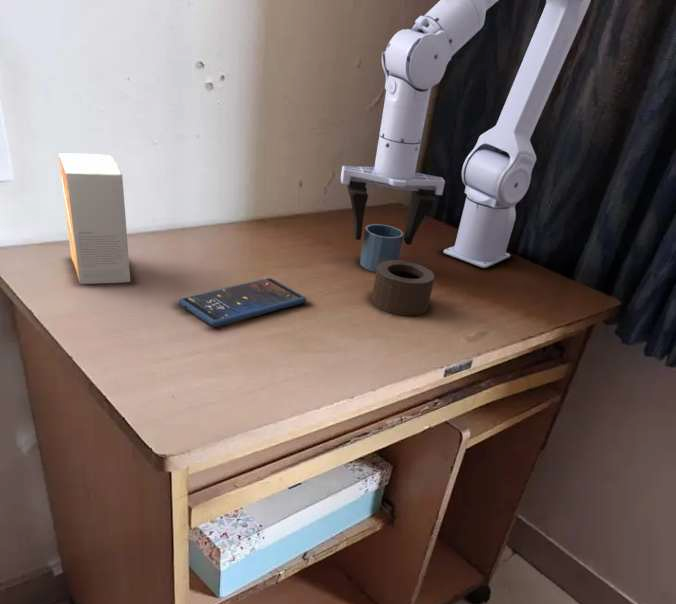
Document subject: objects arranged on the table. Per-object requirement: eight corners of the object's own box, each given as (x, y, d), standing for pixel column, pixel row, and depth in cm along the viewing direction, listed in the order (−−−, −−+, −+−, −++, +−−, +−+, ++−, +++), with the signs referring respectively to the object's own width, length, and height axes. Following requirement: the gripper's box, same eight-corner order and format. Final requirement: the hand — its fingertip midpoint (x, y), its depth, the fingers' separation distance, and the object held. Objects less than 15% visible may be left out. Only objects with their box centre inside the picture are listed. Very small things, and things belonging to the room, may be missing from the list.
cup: (373, 255, 104) (379, 221, 101) (404, 268, 102) (410, 233, 98) (352, 263, 100) (357, 228, 97) (383, 276, 98) (389, 240, 95)
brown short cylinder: (392, 287, 95) (398, 256, 92) (437, 306, 92) (445, 274, 89) (360, 300, 90) (365, 267, 87) (407, 321, 87) (414, 287, 84)
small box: (71, 259, 88) (57, 152, 79) (120, 258, 90) (112, 154, 82) (78, 285, 82) (64, 172, 74) (131, 283, 85) (123, 173, 76)
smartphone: (308, 297, 86) (213, 322, 77) (307, 303, 87) (213, 329, 78) (270, 276, 90) (176, 298, 81) (269, 282, 90) (176, 304, 81)
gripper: (351, 138, 86) (337, 244, 94) (458, 152, 88) (435, 254, 97) (344, 126, 91) (332, 228, 99) (445, 139, 93) (424, 237, 102)
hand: (382, 239), depth 98 cm, fingers open, 7 cm apart
